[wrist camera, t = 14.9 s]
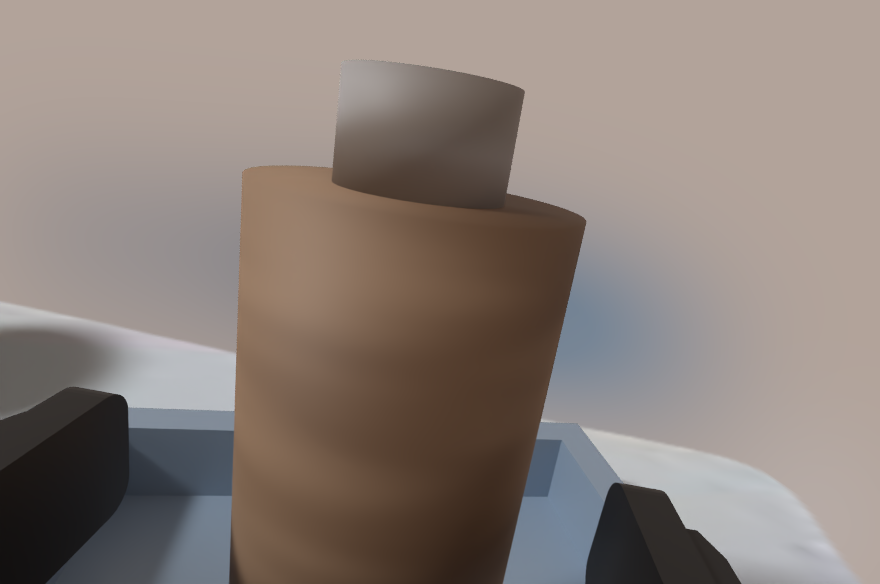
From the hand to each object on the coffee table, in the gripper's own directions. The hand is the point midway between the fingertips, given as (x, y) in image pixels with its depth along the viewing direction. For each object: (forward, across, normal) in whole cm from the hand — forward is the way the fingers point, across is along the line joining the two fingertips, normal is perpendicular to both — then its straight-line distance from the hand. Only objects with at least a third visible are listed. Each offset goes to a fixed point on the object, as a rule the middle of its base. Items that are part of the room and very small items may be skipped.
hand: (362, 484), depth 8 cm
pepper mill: (+1, 0, -7) cm, 7 cm away
